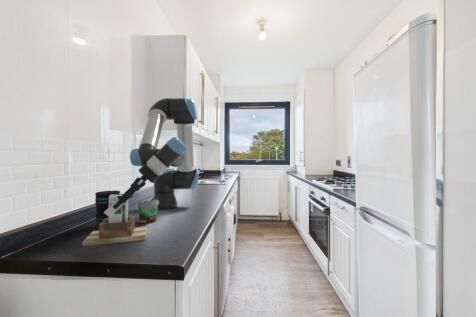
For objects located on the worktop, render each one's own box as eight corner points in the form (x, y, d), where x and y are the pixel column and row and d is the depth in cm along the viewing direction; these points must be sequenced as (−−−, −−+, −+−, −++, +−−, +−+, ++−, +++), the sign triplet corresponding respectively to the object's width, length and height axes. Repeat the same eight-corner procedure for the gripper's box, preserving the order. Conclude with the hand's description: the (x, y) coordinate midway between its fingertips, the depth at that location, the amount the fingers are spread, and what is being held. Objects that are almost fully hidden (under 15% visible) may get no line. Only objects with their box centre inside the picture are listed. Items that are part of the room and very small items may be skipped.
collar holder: (93, 234, 95) (92, 218, 95) (147, 229, 101) (147, 214, 101) (82, 246, 82) (82, 227, 82) (145, 239, 88) (145, 222, 88)
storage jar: (92, 226, 107) (91, 192, 107) (115, 221, 115) (115, 189, 115) (100, 230, 101) (99, 194, 101) (124, 225, 108) (123, 191, 108)
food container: (150, 225, 107) (149, 202, 107) (137, 224, 109) (137, 202, 108) (164, 218, 119) (163, 198, 119) (152, 218, 121) (152, 197, 121)
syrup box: (107, 235, 88) (108, 195, 89) (112, 231, 94) (113, 193, 95) (124, 234, 90) (125, 195, 90) (128, 230, 95) (129, 193, 96)
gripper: (159, 178, 84) (112, 226, 80) (160, 174, 108) (124, 210, 104) (143, 163, 83) (93, 211, 78) (147, 162, 106) (110, 198, 102)
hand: (111, 210), depth 91 cm, fingers open, 13 cm apart
